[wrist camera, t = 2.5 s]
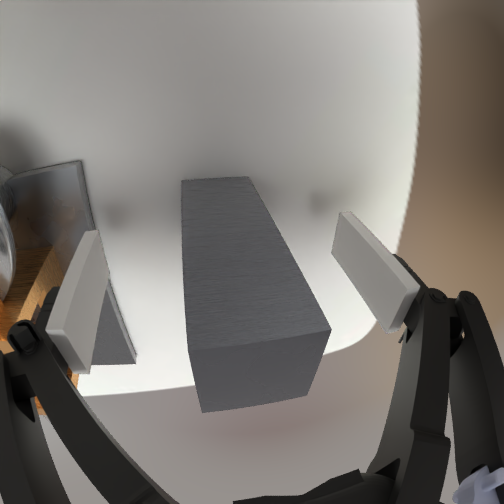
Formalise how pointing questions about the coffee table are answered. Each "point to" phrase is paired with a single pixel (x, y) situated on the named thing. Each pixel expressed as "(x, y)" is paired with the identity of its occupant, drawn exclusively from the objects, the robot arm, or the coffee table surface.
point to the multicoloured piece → (49, 254)
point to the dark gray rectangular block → (244, 300)
